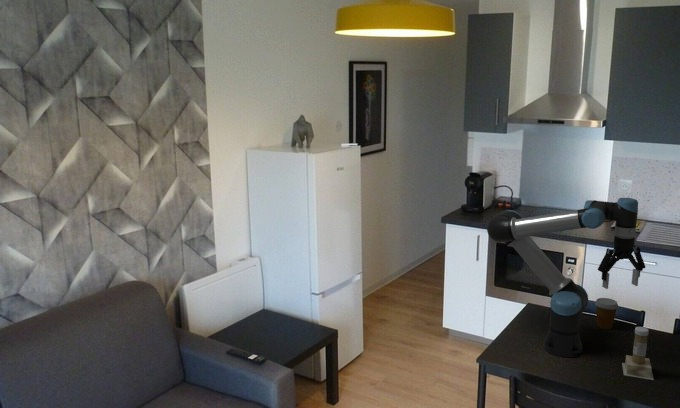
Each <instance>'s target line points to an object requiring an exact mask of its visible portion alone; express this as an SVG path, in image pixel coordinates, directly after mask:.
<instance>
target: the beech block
mask: <svg viewBox="0 0 680 408" xmlns="http://www.w3.org/2000/svg"><path fill="white" fill-rule="evenodd" d="M632 357H633V355H628V354H626V355H625V362H624V363H625V367H626V374H628V375H634V376H640V377H647V378H651V370H652V365H651V364H652V363H651V361H650V358H649V357H648V358H647V357H645V363H643V364H638V363H635V362H633V361H632Z"/></svg>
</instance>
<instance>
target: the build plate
mask: <svg viewBox="0 0 680 408" xmlns="http://www.w3.org/2000/svg"><path fill="white" fill-rule="evenodd" d="M621 366H622V371H623V372H622V373H623V376H626V377H632V378H640V379H645V380H649V381H650V380H651V381H654V380H655V379H654V375H653V370H652V369H651V378H647V377H640V376H634V375H628V374H626V367H625V362H622V363H621Z"/></svg>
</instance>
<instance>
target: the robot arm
mask: <svg viewBox="0 0 680 408" xmlns="http://www.w3.org/2000/svg"><path fill="white" fill-rule="evenodd" d="M583 205H584V206H583V208H581V209H575V210H567V211H561V212H554V213H548V214H542V215H535V216H530V217H522V215H521V214H520V213H519V212H518V211H516V210H513V209H512V210H511V209H506V210H502V211H501V212H499V213H498V214H496V215H495V216H494V217H492V218H491V219H489V221H488V223H487V227H486V232H487V235H488V236H489V238H490V239H492V241H494V242H495V243H496V242H497V243H504V244H505V245H507V247H512V248H513V249H514V250H515V251H516V253H517V254H519V256H520V257H521V258H522V259H523V261H524V262H525V263H526V264H527V265H528V267H529V268H530V269H531V270H532V272H534V274H535V275H536V276H537V277H538V278H539V280H540V281H541V282H542V283H543V284H544V285H545V287H546V288H547V289H548V290H549V293H548V295H549V297H550V302H549V303H550V304H549V305H550V307H549V309H550V310H549V323H548V325H549V327H548V331H547V332H546V335H545V338H544V339H543V349H544V350H545V351H546V352H548V353H550V354H551V355H553V356H558V357H563V358H574V357H575V358H576V357H578V356H580V355H581V353H582V352H583V343H582V341H581V340H582V339H581V337H580V326H581V325H580V324H581V317H582V315H583V313H584V311H585V310H586V308H588V307H587V306H588V304H589V303H588V302H589V294H588V292H587V290H586V289H585V288H584V287H583V286H582V285H580V284H577V283H575V282H574V280H572V279H573V278H567V277H566V276H565V275H564V274H563V273H562V272H561V271H560V270H559V268H558V267H557V266H556V265H555V264H554V263H553V261H552V260H551V259H550V258H549V257H548V255H547V254H546V253H545V252H544V251H543V250H542V249H541V248H540V246H539V245H538V244H537V243H536V242H535V241H534V240H533V238H532V237H531V236H537V235H544V234H545V235H546V234H549V233H550V234H551V233H558V232H565V231H572V230H578V229H586V228H587V229H592V230H593V229H597V228H599V227H601V226H602V225H603V224H604V222H605V221H611V222H615V224H614V225H615V226H614V236H613V237H614V238H613V245H614V248H609V247H608V248H606V250H605V251H606V252H605V254H604V255H603V259H602V260H601V262H600V264H599V265H598V267H597V271H598V272H600V273H601V280H602V283H601V284H602V285H601V287H602V288H604V289H605V290H608V289H609V282H610V273H609V272H610V271H611V269H612V268H613V267H614V266H615V265H616V263H617V262H618V261H620V260H628V261H629V262H630V263H631V265H632V266H633V269H632V274H631V285H633V286H635V287H638V286H639V278H640V277H641V272H642V271H643V270H644V269H646V264H645V261H644V259H643V256H642V253H641V247H638V246H637V245H635V242H636V238H635V237H636V233H637V232H636V231H637V223H638V221H637V220H638V214H639V213H638V212H639V201H638V200H637V199H636V198H632V197H619V198H618V199H617V201H616V202H614V201H613V202H612V201H605V200H604V201H603V200H594V199H593V200H586V201H585V202H584V204H583ZM633 254H634V255H633Z"/></svg>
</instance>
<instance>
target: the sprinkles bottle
mask: <svg viewBox="0 0 680 408" xmlns="http://www.w3.org/2000/svg"><path fill="white" fill-rule="evenodd" d="M649 331H650V330H649V328H647V327H643V326H635V329H634V340H633V348H632V356H633V357H632V361H633V362H635V363H638V364H643V363H645V358H646V355H647V348H648V347H647V346H648V337H649Z"/></svg>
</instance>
